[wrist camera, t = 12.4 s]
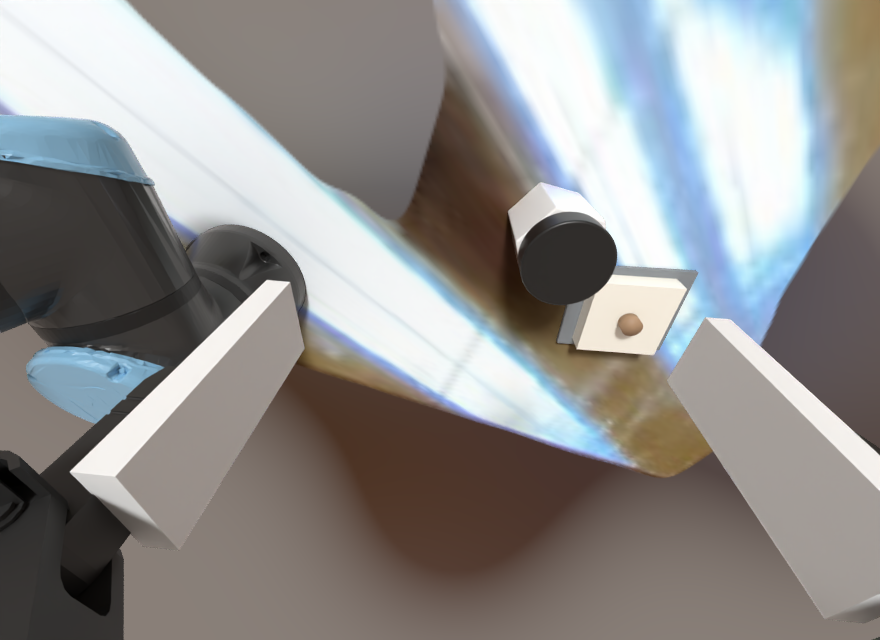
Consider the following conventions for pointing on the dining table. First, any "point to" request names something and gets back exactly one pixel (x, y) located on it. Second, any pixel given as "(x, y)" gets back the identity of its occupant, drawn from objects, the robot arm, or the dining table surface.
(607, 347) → the lid
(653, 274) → the mat
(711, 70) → the dining table surface
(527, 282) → the jar
